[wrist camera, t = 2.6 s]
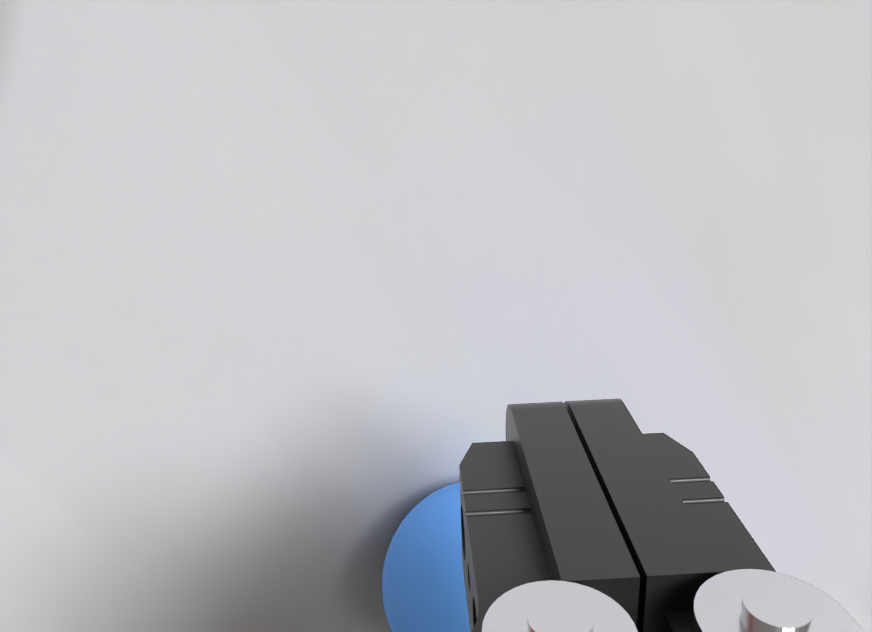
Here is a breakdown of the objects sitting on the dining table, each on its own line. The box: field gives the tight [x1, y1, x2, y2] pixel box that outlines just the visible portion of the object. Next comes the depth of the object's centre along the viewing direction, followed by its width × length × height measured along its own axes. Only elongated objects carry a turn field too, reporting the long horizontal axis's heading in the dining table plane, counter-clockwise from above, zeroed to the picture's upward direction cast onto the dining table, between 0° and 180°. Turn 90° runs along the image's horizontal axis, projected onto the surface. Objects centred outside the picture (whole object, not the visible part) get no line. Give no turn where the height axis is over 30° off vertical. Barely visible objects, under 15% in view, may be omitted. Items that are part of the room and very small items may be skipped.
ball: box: [382, 482, 470, 632], centre depth 22 cm, size 6×6×6 cm
